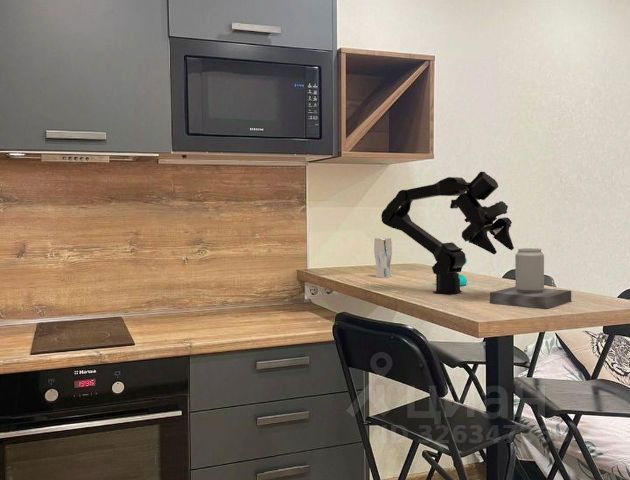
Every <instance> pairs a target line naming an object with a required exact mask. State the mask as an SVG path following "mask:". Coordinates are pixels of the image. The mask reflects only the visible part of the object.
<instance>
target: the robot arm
mask: <svg viewBox="0 0 630 480" xmlns="http://www.w3.org/2000/svg"><path fill="white" fill-rule="evenodd" d="M498 188H499V184H498V182H497V181H496V179H495V178H493V177H491V176H490V175H489V174H487V173H486V172H485V171H480V172H479V173H478V174H477V175H476V176H475V177H474V178H473V179H472V180H471V181H470V182H468V181H466V180H465V179H464V178H463V177H458V176H457V177H456V176H454V177H453V176H452V177H451V176H448V177H445V178H443V179H441V180H439V181H437V182H435V183H433V184H429V185H424V186H418V187H413V188H409V189H408V188H407V189H400V190H399V191H398V192H397V194H396V195H395V197H394V198H393V199H392V200H390V202H389V203H388V204H387V205H386V207H385V208H384V209H383V210H382V212H381V215H380V216H381V222H382V224H384V225H385V226H387V227H390V228H391V229H395V230H398V231H401V232H403V234H406V235H407V236H408V237H409V238H410V239H412V240H414V242H416V243H417V244H418V245H420V246H421V247H423V248H424V249H426V250H427V251H428V252H430V253H431V254H432V255H433V257H434V259H435V263H434V264H433V266H432V267H431V270H432V273H433V275H435V281H436V283H435V286H436V287H435V289H436V290H433V293H436V294H446V295H453V294H458V293H462V290H461V286H460V278H459V274H460V273H461V272H462V269H463V267H464V266H465V265H466V264H465V262H466V259H467V257H466V254H465V252H464V251H462V250H463V248H461V247H459V246H457V244H456V243H454V242H453V241H451V242H442V241H440V240H439V239H437V238H436V237H435V236H434V235H432V234H431V233H429V232H428V231H426V230H425V229H423V228H422V227H421V226H419V225H418V224H416V223H415V222H414V221H412V219H411V217H410V215H409V212H410V210H411V207H412V202H413V201H418V200H424V199H429V198H434V197H440V196H442V197H456V198H455V199H451V200H450V206H449V208H450V209H451V210H452V209H453V210H454V209H459V210H460V211H461V213H462V215H464V217H465V218H464V222H465V223H469V225H468V226H466V228H465V229H464V230H462V231H461V238H462V239H463V241H464V242H468V243H469V244H473V245H475V246H477V247H479V248H480V249H483V250H485V251H486V252H488V253H490V254H493V255H496V254H497V252H498V251H497V250H496V248H495V246H494V244H493V242H492V241H491V240H490V238H489V236H488V232H489V234H491V235H492V238H493V239H495V240H496V241H497V242H499V243H500V244H501V245H503V247H505V248H507V249H508V250H510V251H513V250H514V249H515V247H514V244H513V241H512V238H511V235H510V232H509V231H510V228H511V227H512V223H513V222H512V220H511V219H510V218H509V217H507V216H506V217H499V216H502V215H506V214H508V208H509V205H507V204H506V202H504V201H503V200H501V201H498V202H495V203H494V204H492V205H490V206H485V205H484V206H482V204H481V203H480V202H479V201H480V200H481V201H485V200H486V199H487V198H489V196H491V195H492V194H493V193H494V192H495V191H496V190H497V189H498ZM498 217H499V218H498ZM466 263H467V262H466ZM464 264H465V265H464Z"/></svg>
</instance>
